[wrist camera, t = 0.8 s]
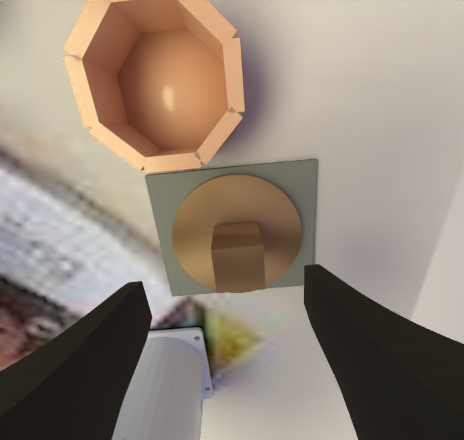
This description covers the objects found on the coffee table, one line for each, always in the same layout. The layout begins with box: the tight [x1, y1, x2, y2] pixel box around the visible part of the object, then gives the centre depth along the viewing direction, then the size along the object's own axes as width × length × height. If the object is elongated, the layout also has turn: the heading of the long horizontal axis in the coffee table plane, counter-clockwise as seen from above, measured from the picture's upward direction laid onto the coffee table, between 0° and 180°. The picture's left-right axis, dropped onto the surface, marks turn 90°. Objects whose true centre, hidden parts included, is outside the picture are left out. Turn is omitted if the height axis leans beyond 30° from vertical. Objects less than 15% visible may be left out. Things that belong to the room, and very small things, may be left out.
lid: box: [172, 173, 302, 293], centre depth 16 cm, size 10×10×5 cm
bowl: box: [63, 0, 245, 173], centre depth 13 cm, size 8×8×4 cm
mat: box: [145, 159, 317, 296], centre depth 19 cm, size 10×12×1 cm
